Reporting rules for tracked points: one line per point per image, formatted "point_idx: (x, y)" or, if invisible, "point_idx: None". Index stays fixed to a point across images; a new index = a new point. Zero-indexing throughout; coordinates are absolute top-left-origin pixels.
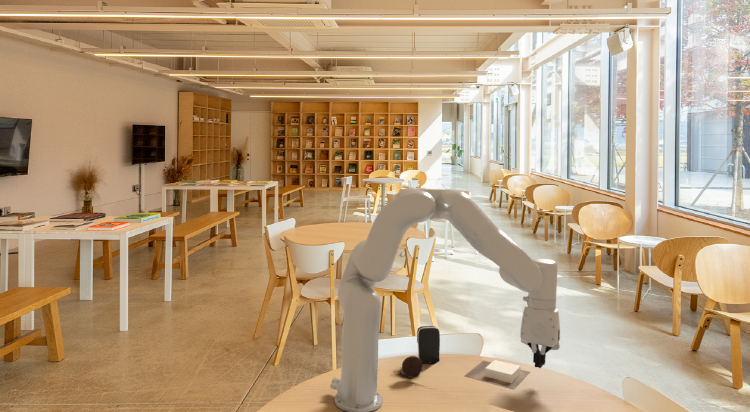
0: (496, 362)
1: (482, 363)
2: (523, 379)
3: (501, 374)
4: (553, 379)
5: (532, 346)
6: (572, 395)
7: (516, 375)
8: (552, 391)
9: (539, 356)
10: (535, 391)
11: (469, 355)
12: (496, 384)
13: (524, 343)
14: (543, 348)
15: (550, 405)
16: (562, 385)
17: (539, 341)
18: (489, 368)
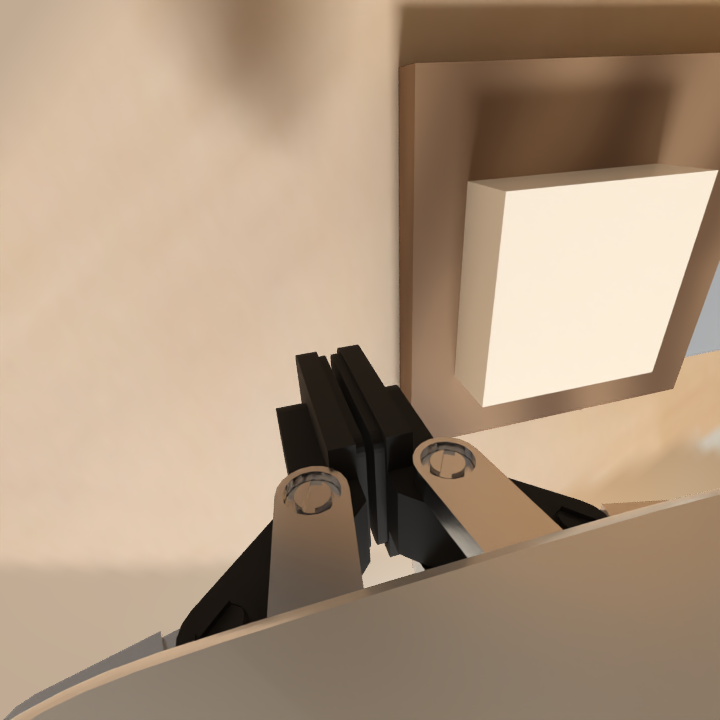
0: (640, 340)
1: (676, 349)
2: (412, 316)
3: (577, 179)
4: None
5: (515, 503)
6: (58, 382)
7: (468, 308)
8: (199, 342)
9: (339, 428)
10: (290, 256)
11: (713, 423)
12: (562, 63)
13: (647, 504)
14: (313, 563)
15: (53, 62)
16: (199, 462)
17: (447, 665)
18: (685, 189)
